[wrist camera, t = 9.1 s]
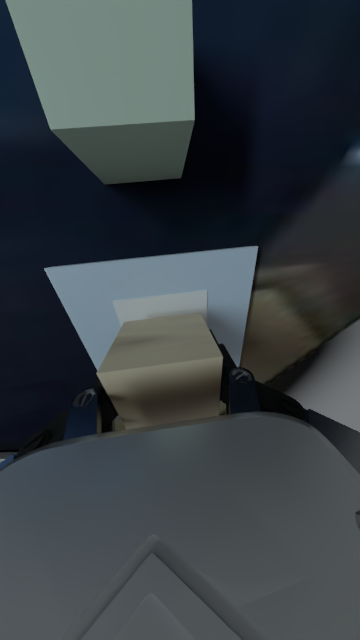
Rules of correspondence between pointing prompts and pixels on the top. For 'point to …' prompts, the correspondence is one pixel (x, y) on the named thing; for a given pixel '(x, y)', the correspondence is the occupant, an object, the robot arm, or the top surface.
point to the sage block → (114, 81)
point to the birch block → (163, 371)
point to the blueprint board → (158, 294)
